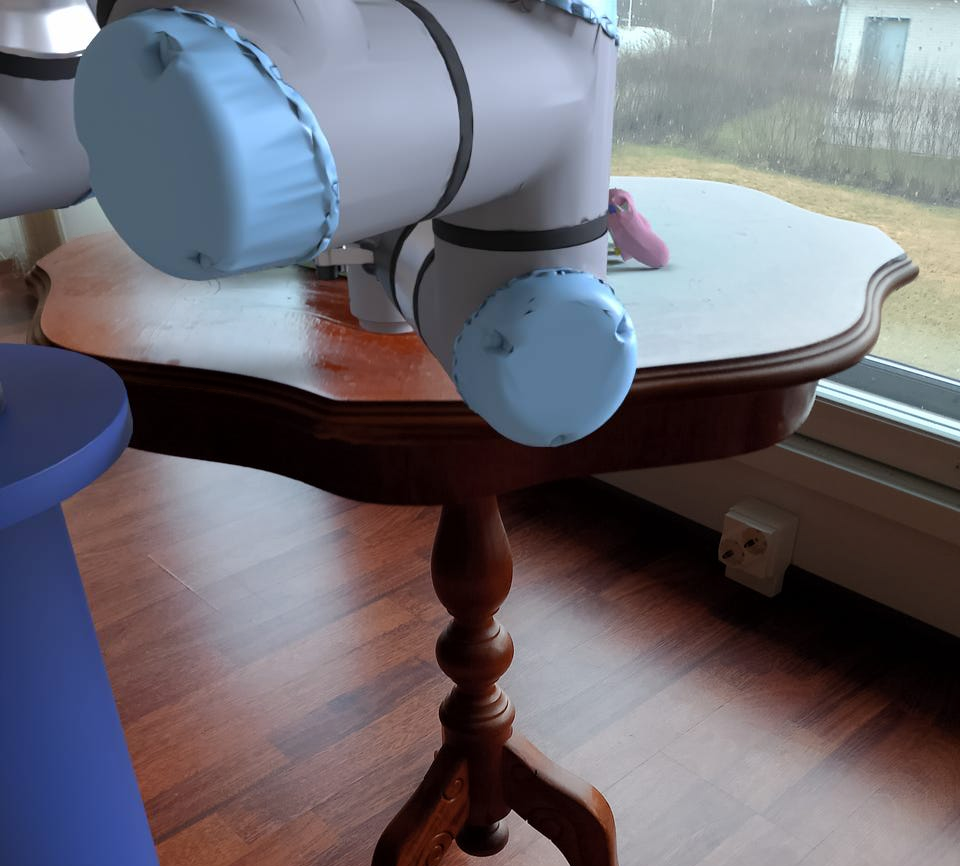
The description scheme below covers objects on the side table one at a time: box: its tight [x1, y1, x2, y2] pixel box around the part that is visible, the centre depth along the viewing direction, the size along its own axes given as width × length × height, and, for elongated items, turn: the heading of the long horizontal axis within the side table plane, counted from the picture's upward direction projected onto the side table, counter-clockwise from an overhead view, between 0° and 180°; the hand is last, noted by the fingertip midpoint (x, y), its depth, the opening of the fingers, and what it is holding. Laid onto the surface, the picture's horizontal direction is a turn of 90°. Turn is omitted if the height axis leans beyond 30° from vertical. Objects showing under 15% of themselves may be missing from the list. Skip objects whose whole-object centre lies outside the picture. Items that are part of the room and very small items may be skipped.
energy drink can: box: [347, 265, 415, 335], centre depth 71 cm, size 6×6×15 cm
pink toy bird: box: [607, 187, 671, 269], centre depth 97 cm, size 10×5×7 cm, turn 3°
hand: (370, 186), depth 75 cm, fingers closed on energy drink can, 6 cm apart
